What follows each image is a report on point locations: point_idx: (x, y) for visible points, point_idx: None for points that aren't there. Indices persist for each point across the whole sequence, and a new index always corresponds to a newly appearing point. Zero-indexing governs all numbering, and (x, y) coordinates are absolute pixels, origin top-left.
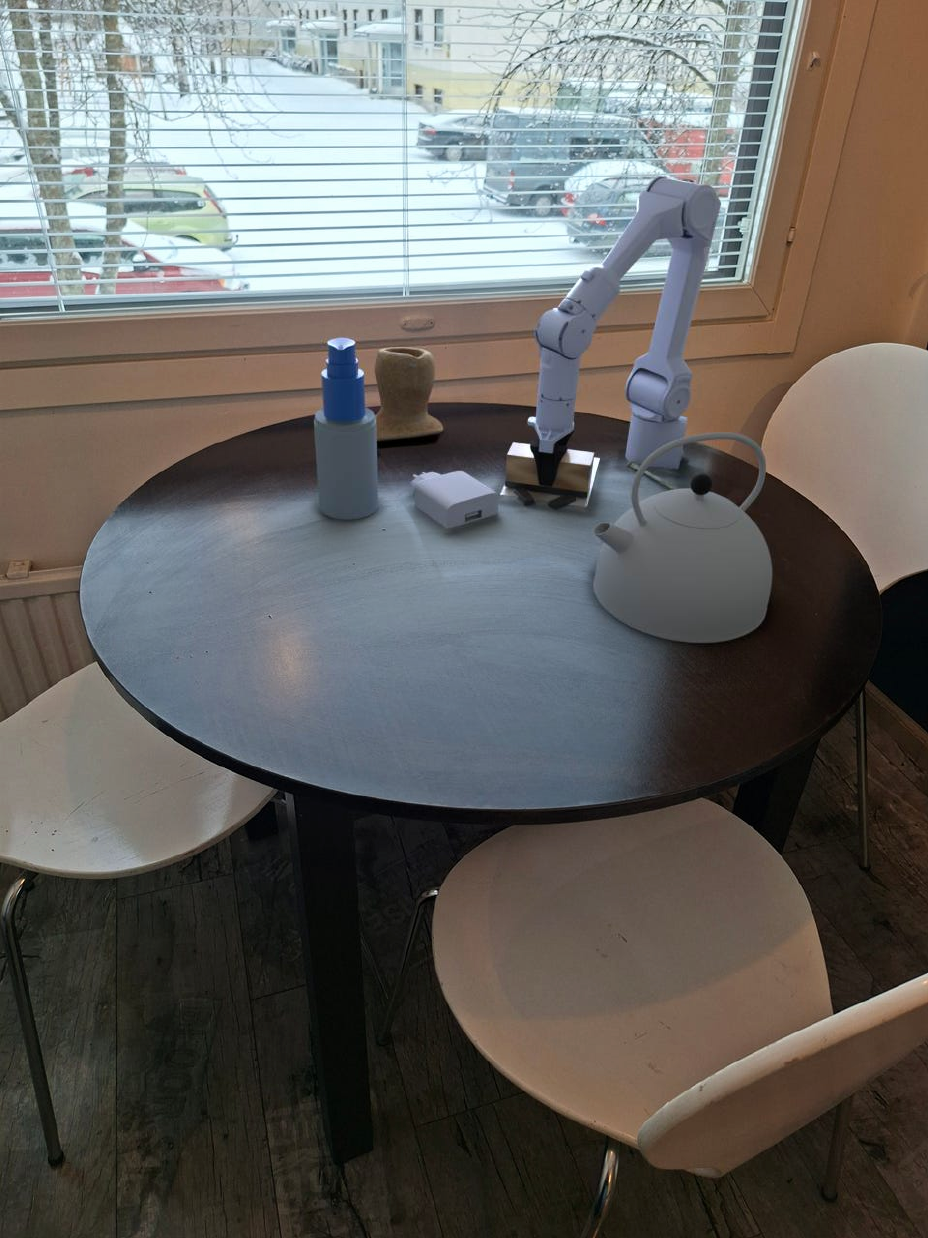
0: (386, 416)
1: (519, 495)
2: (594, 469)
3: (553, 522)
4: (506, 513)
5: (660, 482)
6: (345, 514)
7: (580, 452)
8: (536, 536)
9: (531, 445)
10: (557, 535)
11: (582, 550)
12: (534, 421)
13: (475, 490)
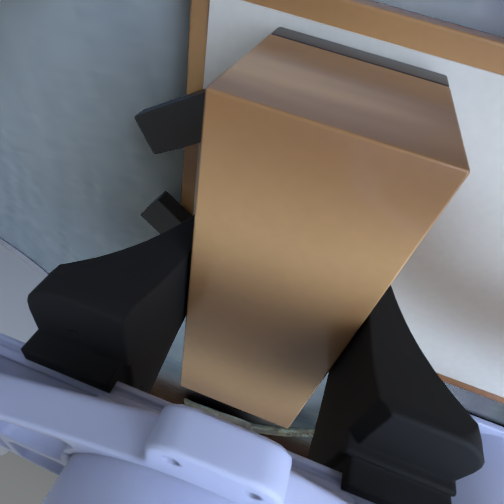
0: None
1: (185, 97)
2: (433, 366)
3: (118, 180)
4: (118, 20)
5: (314, 428)
6: None
7: (283, 403)
8: (22, 118)
9: (31, 291)
10: (57, 176)
11: (24, 214)
12: (163, 469)
13: None
